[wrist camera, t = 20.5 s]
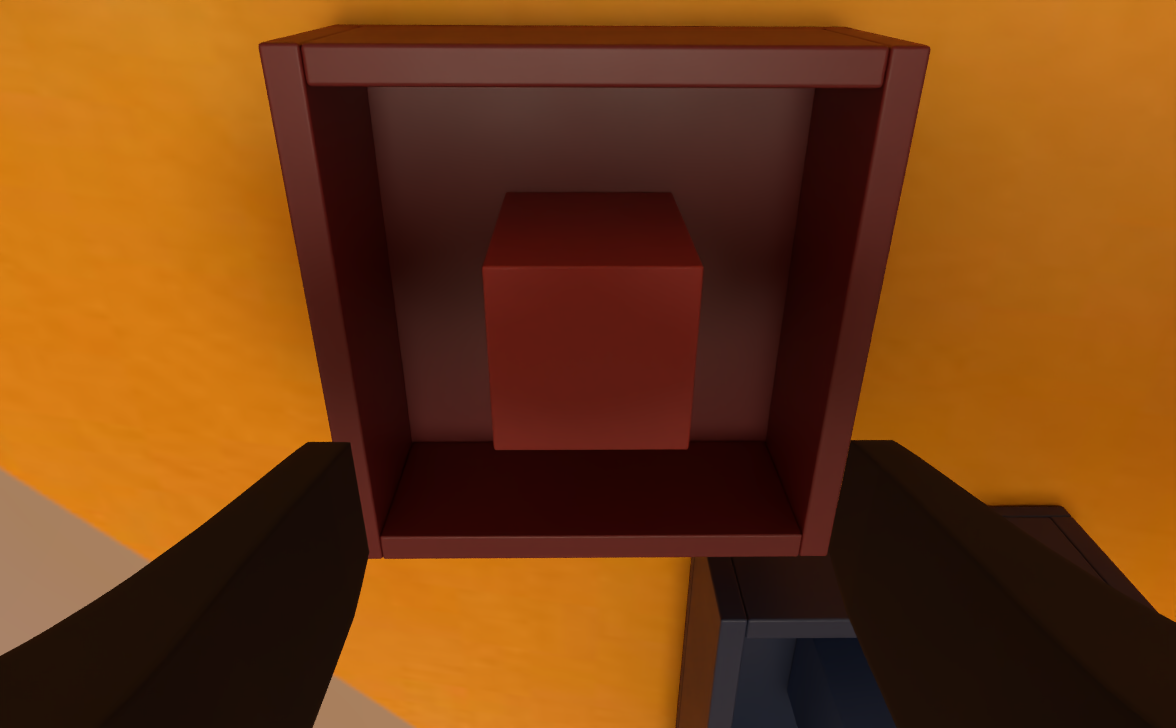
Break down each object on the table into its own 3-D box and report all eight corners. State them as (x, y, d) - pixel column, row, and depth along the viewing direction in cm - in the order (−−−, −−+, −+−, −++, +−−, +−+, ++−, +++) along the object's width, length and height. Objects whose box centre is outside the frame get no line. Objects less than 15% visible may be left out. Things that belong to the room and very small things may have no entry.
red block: (672, 191, 18) (704, 266, 13) (663, 342, 20) (689, 450, 15) (505, 191, 18) (481, 266, 13) (512, 342, 20) (493, 451, 15)
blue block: (924, 606, 24) (1001, 748, 20) (899, 689, 26) (964, 835, 22) (802, 607, 24) (852, 749, 20) (786, 690, 26) (828, 837, 22)
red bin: (847, 26, 17) (933, 46, 13) (782, 450, 22) (827, 556, 18) (333, 24, 16) (256, 42, 12) (394, 451, 22) (353, 560, 18)
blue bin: (1063, 505, 23) (1164, 617, 19) (971, 742, 28) (1035, 868, 24) (695, 507, 23) (720, 620, 19) (673, 745, 28) (689, 872, 24)
